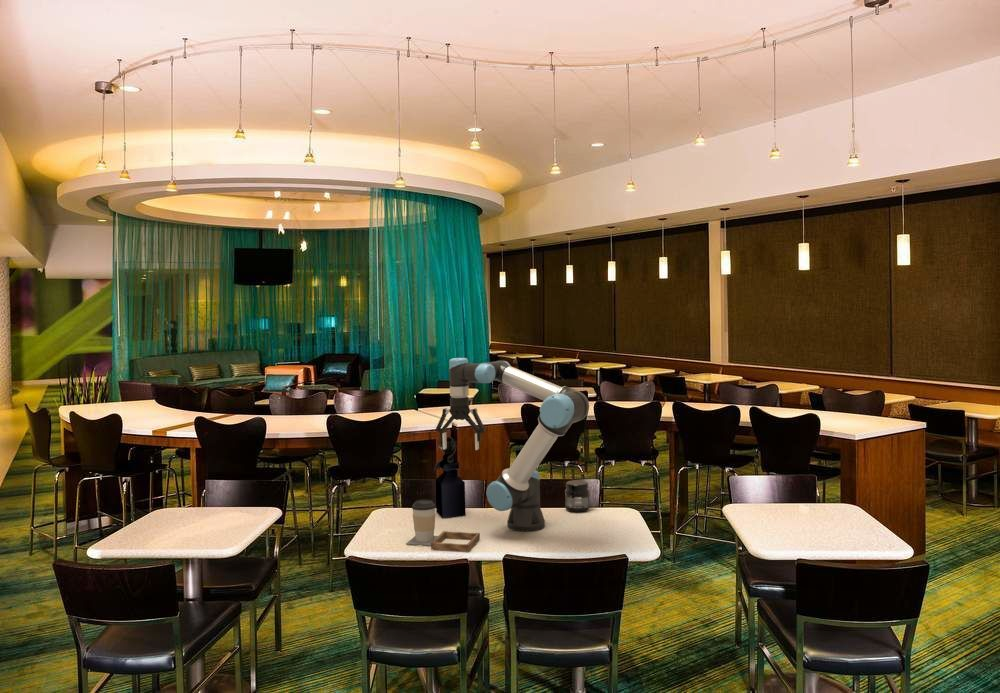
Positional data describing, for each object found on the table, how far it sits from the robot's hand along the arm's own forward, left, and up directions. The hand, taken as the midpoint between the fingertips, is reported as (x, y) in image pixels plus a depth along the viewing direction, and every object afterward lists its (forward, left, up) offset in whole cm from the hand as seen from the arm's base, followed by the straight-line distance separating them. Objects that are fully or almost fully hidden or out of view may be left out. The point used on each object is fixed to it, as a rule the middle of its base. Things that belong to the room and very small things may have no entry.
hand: (460, 449), depth 292 cm
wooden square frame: (-4, +22, -32) cm, 39 cm away
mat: (+9, +20, -32) cm, 38 cm away
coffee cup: (+9, +20, -31) cm, 38 cm away
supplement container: (-42, -32, -32) cm, 62 cm away
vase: (+11, -17, -32) cm, 38 cm away
